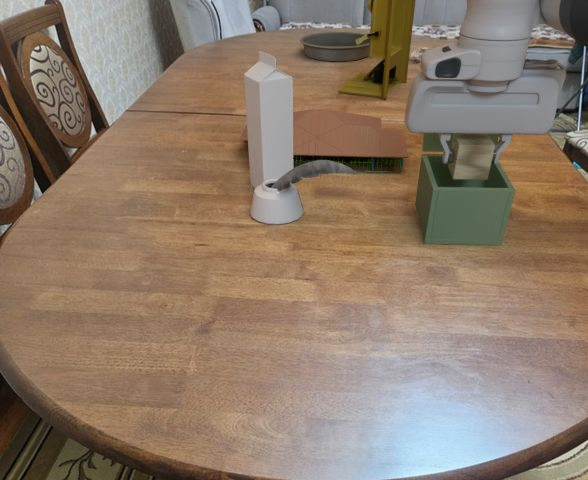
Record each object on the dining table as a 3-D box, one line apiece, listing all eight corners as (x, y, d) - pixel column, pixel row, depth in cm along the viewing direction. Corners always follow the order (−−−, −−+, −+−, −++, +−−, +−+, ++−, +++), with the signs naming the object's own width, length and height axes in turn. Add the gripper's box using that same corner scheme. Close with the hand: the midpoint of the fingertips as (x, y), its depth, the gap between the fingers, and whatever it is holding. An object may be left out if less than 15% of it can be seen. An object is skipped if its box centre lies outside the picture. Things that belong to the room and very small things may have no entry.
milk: (264, 197, 97) (257, 60, 83) (250, 185, 101) (241, 52, 87) (294, 190, 99) (292, 55, 85) (279, 178, 103) (275, 47, 89)
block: (480, 166, 84) (487, 133, 81) (487, 179, 80) (495, 145, 77) (447, 166, 84) (453, 133, 81) (452, 179, 80) (459, 145, 77)
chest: (501, 245, 83) (515, 190, 77) (424, 243, 84) (433, 189, 78) (483, 206, 93) (494, 154, 88) (414, 204, 94) (421, 153, 88)
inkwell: (259, 198, 97) (256, 141, 90) (360, 209, 93) (364, 151, 86) (241, 221, 90) (237, 161, 83) (349, 235, 86) (352, 173, 79)
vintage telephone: (368, 71, 163) (377, -53, 144) (414, 76, 158) (429, -52, 139) (328, 100, 142) (332, -42, 122) (379, 106, 137) (392, -41, 118)
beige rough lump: (415, 51, 167) (409, 44, 171) (413, 66, 170) (407, 59, 174) (440, 49, 167) (434, 43, 172) (438, 64, 170) (431, 57, 175)
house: (253, 130, 124) (251, 92, 119) (400, 133, 121) (404, 94, 116) (235, 169, 107) (232, 126, 101) (406, 174, 104) (411, 130, 99)
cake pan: (368, 45, 191) (369, 30, 188) (380, 62, 172) (381, 46, 169) (298, 46, 190) (297, 32, 187) (302, 63, 171) (302, 47, 168)
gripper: (562, 53, 74) (534, 155, 83) (410, 53, 75) (398, 153, 84) (578, 65, 69) (546, 171, 78) (415, 64, 70) (402, 169, 79)
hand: (469, 162), depth 81 cm, fingers closed on block, 5 cm apart
